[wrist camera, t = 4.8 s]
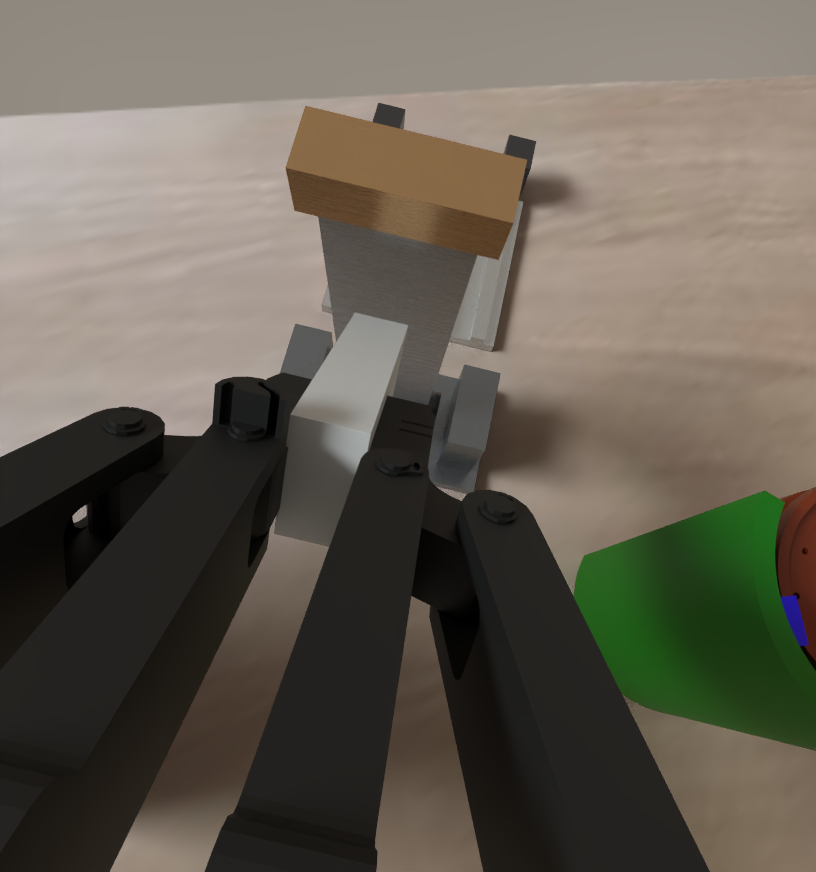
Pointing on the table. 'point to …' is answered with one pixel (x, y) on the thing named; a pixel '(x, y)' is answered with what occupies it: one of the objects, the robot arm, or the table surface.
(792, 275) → the table surface
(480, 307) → the bracket
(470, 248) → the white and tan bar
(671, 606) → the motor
